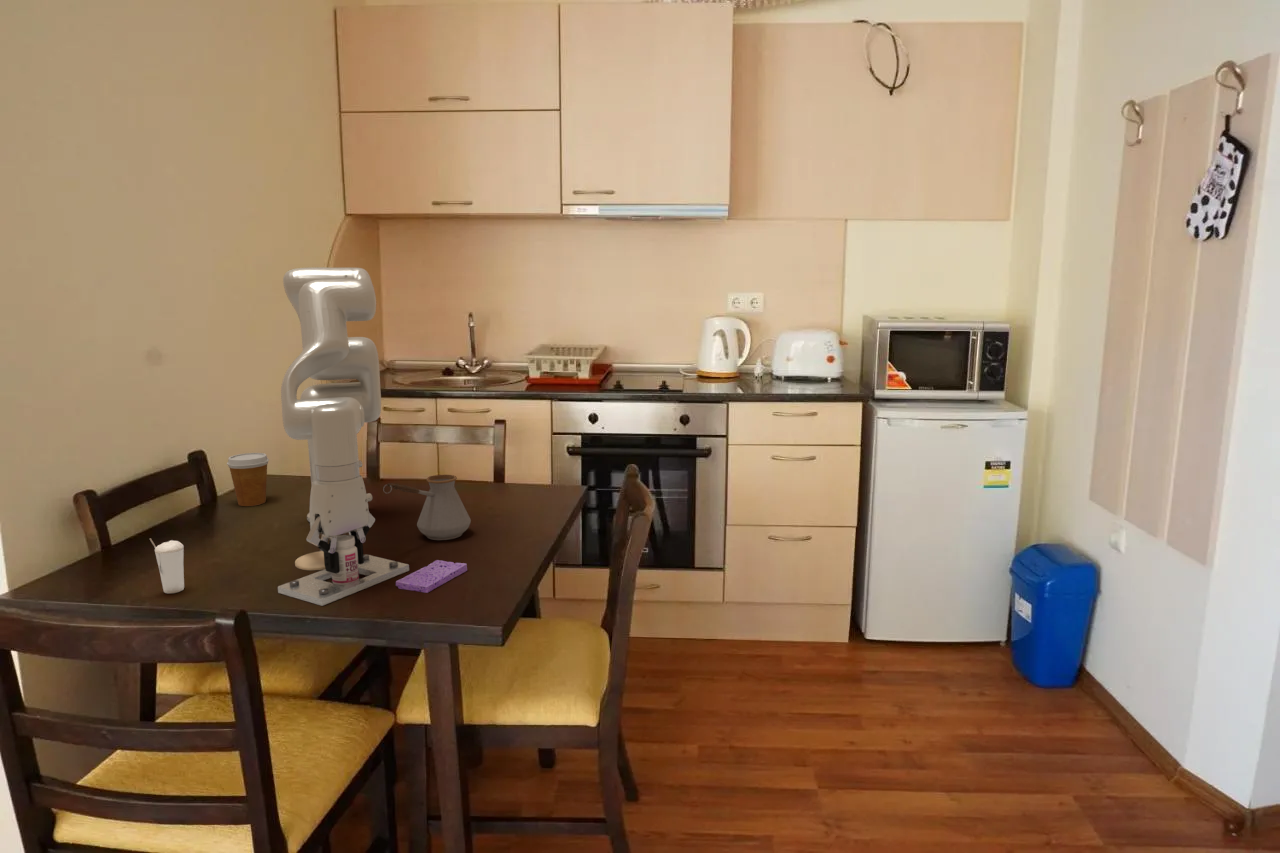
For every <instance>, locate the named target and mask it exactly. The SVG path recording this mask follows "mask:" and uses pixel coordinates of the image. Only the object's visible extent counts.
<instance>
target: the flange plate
mask: <svg viewBox="0 0 1280 853" xmlns="http://www.w3.org/2000/svg"><path fill="white" fill-rule="evenodd" d="M363 558H364V563H363V564H358V569H359V575H361V576H365V577H362V578H359V580H357V581H354V582H351V583H349V584H346V585H337V584H334V583H333V582H330V581H326V580H329V579H332V572H328V571H326V570H325V569H324V570H318V571H317V572H314V573H311V574H309V575H305V576H303V577H301V578H297V579H294V580H291V581H289V582H285V583H283V584H281V585H278V586H277V593H278V594H282V595H284V596H287V597H290V598H295V599H297V600H301V601H305V602H307V603H312V604H314V605H317V606H321V607H323V606H325V605H328V604H330V603H334V602H335V601H338V600H340V599H343V598H345V597H348V596H350V595H353V594H355V593H357V592H359V591H362V590H364V589H368V588H370V587H372V586H374V585H377V584H380V583H382V582H385V581H387V580H389V579H393V578H394V577H397V576H399V575H402V574H404V573H406V572H409V571H410V565H409V564H408V563H403V562H400V561H395V560H391V559H387V558H383V557H379V556H374V555H371V554H363Z"/></svg>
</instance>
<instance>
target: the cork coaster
mask: <svg viewBox="0 0 1280 853" xmlns="http://www.w3.org/2000/svg"><path fill="white" fill-rule="evenodd" d="M294 565H295V568H297V569H298V570H303V571H322V570H324V569H325V564H324V552H323V551H321V550H319V551H313V552H309V553H306V554H304V555H300V556H299V557H298V558H297V559H295V561H294Z"/></svg>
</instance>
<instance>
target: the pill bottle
mask: <svg viewBox="0 0 1280 853" xmlns="http://www.w3.org/2000/svg"><path fill="white" fill-rule="evenodd" d="M354 545H355V538H354V536H352V535H349V534H341V535H338V536H337V542H336V549H335V552H338V554H339V567H340V571H339V573H337V574H335V573H332V578H331V583H333V584H337V585H340V586H344V585H346V584H349V583H351V582H354V581H357V580H359V579H360V574H359V569H358V552H357V547H356V546H354Z"/></svg>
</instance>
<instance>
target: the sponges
mask: <svg viewBox="0 0 1280 853" xmlns="http://www.w3.org/2000/svg"><path fill="white" fill-rule="evenodd" d="M467 566H468V565H467V563H464V562H463V563H461V562H455V563H454V562H453V561H445V560H439V559H436V560H434V561H433V562H431V563H430V564H428V565H427V566H423V567H422V568H420V569H418V570H415V571H414V572H411V573H410V574H408V575H406V576H404V577H403V578H400V579H398V580H396V581H395V587H397V588H398V589H400V590H407V591H413V592H414V591H415V592H420V593H425V594H426V593H427V594H429V592H432V591H433V590H434V589H437V588H438V587H440V586H442V585H444V584H446V583H447V582H449V581H451V580H453V579H454V578H456V577H459V576H460V575H462V574H463V573H466V572H467V571H468V567H467Z"/></svg>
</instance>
